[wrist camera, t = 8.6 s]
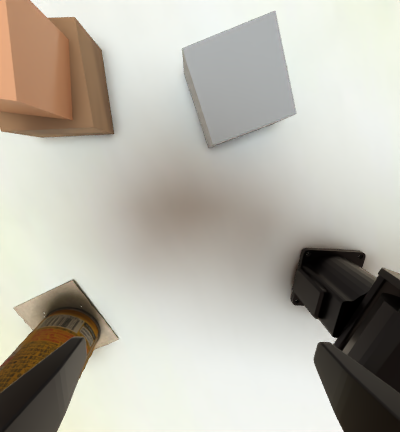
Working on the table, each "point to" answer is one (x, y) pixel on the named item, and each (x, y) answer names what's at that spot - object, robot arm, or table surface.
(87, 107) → the walnut block
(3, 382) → the condiment
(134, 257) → the table surface
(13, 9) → the terracotta cube
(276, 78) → the slate block
